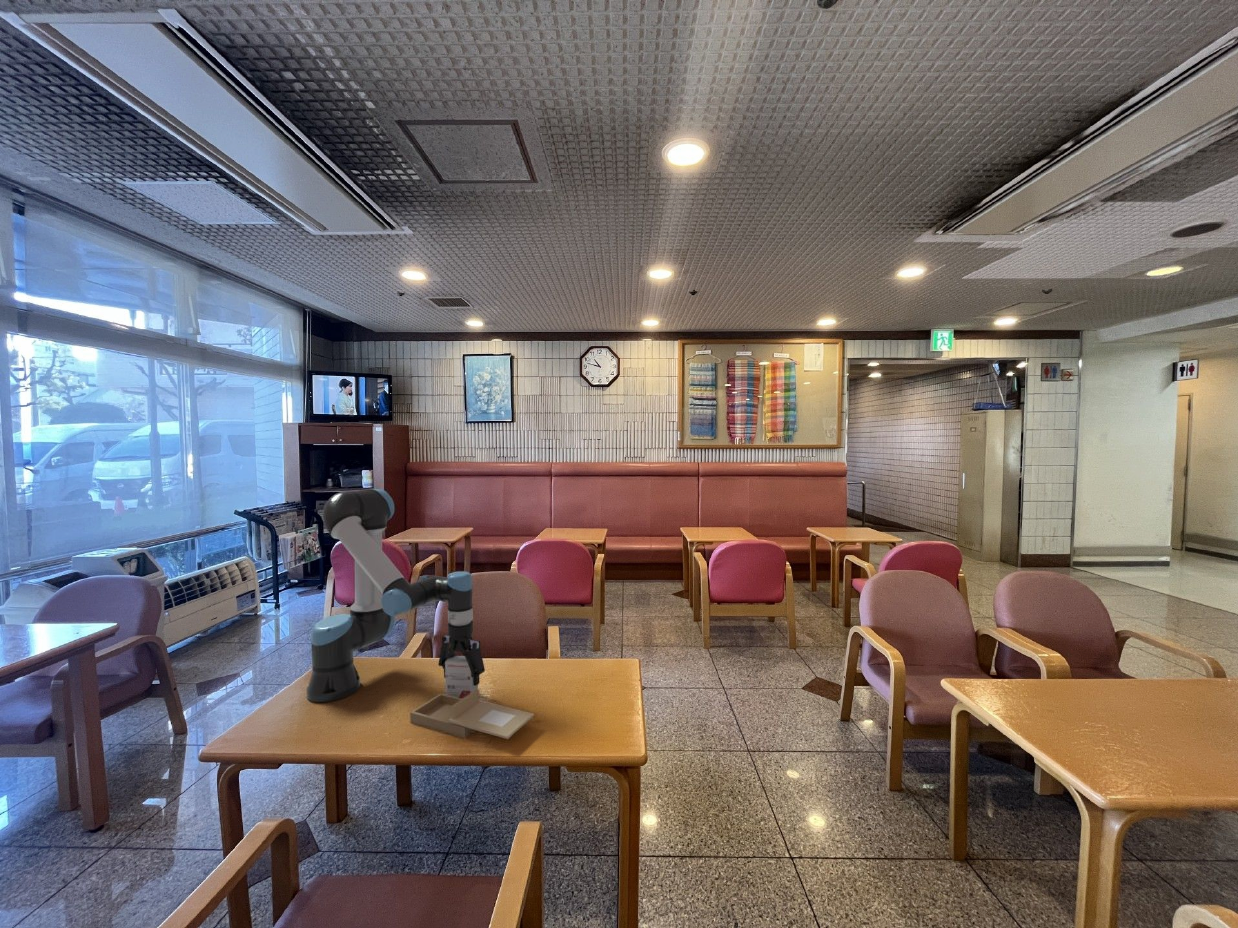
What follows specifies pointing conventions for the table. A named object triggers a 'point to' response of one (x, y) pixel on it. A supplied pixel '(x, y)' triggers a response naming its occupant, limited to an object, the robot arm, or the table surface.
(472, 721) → the lid
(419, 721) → the mailer
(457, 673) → the ink box
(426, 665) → the table surface
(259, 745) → the table surface
